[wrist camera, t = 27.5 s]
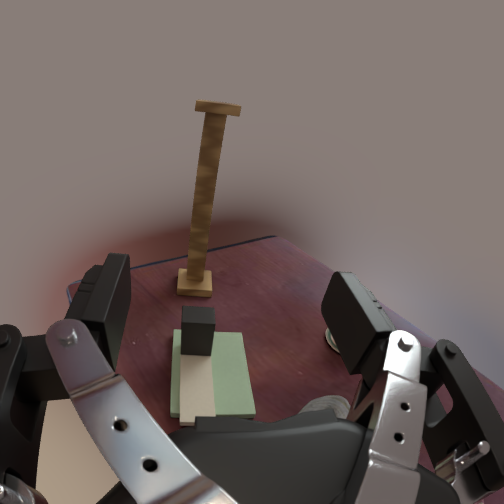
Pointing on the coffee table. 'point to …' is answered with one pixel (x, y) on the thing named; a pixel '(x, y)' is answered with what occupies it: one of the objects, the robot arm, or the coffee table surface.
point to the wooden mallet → (196, 364)
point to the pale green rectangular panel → (220, 376)
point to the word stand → (204, 198)
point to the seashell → (329, 405)
